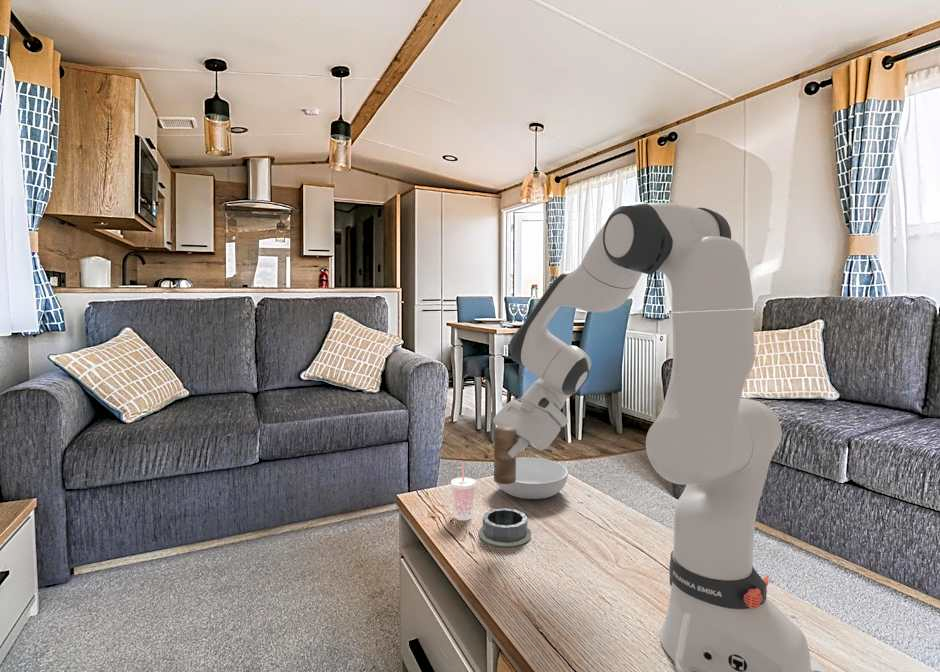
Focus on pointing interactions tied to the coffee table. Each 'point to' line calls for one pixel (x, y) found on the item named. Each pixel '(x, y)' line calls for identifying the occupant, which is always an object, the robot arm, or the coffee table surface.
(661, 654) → the coffee table surface
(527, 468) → the serving bowl
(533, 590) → the coffee table surface
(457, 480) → the beverage cup
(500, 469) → the brown rounded cylinder
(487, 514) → the cup holder
